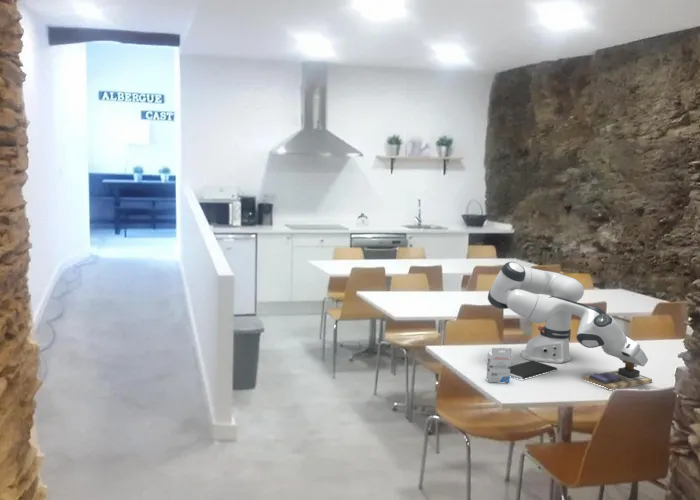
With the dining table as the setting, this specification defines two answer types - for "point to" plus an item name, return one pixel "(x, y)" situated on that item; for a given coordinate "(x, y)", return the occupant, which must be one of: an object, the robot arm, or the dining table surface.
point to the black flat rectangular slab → (529, 369)
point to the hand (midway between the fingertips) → (631, 363)
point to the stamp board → (616, 380)
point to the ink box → (499, 365)
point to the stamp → (628, 371)
